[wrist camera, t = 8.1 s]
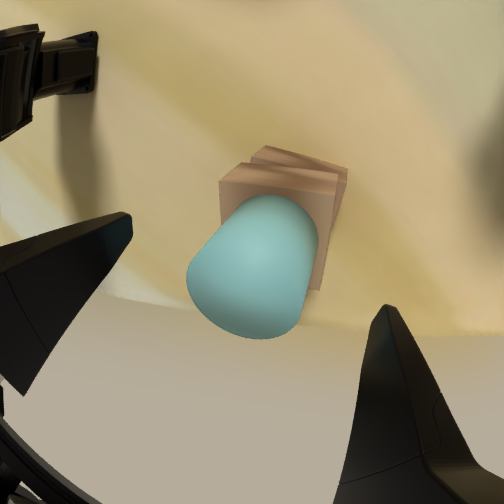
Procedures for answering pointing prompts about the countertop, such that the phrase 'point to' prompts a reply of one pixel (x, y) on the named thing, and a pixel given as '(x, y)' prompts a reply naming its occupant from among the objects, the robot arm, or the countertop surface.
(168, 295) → the countertop surface
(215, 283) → the teal rounded cylinder
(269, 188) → the stepped brown block
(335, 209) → the bottom slab
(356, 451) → the robot arm
